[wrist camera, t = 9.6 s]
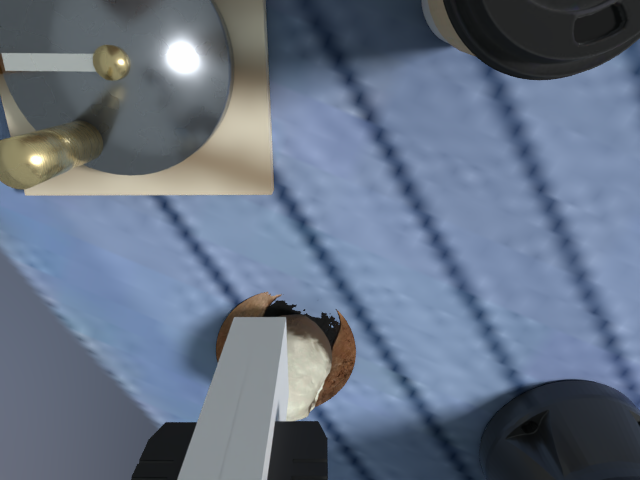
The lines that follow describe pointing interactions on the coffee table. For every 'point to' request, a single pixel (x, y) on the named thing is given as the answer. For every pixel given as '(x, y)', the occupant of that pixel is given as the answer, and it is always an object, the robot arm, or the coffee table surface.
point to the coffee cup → (536, 33)
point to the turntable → (112, 84)
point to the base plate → (223, 147)
